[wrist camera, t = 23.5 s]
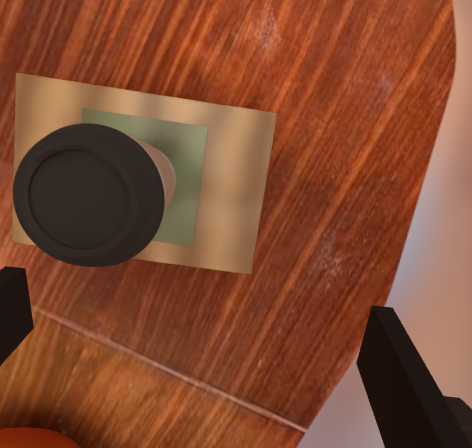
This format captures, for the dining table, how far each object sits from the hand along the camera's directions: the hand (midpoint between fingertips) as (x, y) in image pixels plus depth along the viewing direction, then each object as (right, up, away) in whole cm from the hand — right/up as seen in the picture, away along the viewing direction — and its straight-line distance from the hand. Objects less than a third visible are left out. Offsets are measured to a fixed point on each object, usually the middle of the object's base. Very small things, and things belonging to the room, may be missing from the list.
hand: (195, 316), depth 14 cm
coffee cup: (-8, +8, +22) cm, 24 cm away
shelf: (-8, +10, +30) cm, 33 cm away
